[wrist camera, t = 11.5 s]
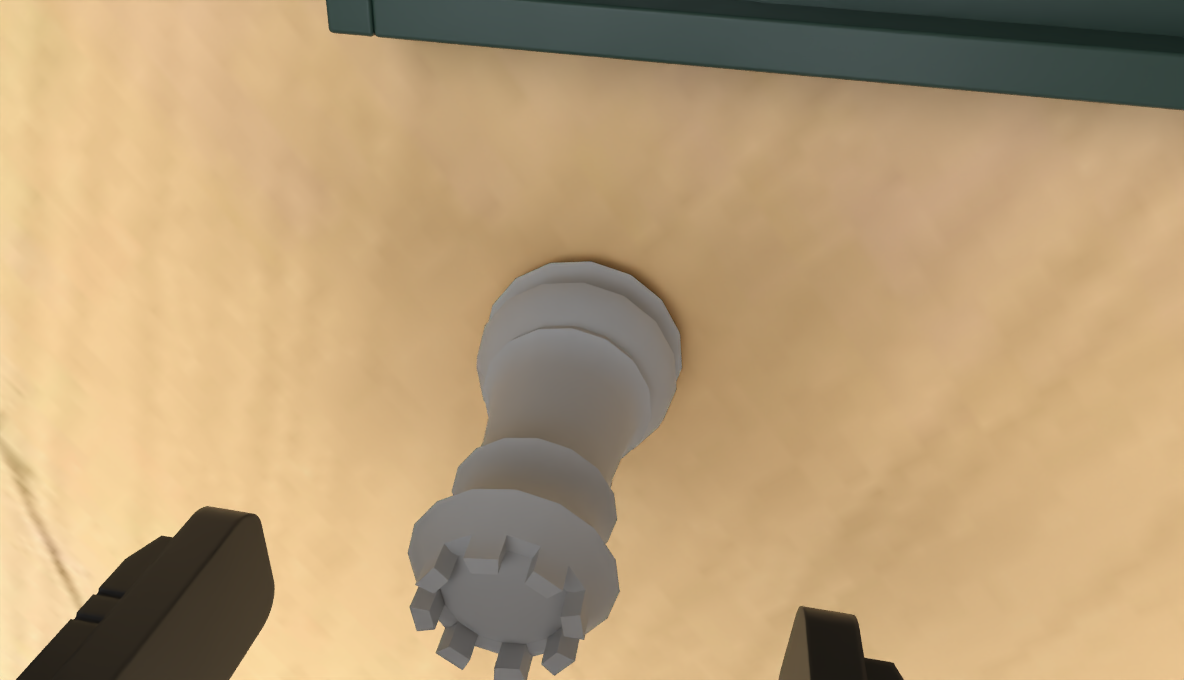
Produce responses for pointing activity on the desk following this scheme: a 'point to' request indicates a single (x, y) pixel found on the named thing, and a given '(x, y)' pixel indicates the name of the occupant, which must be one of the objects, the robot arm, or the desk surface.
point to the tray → (833, 39)
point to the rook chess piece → (545, 467)
